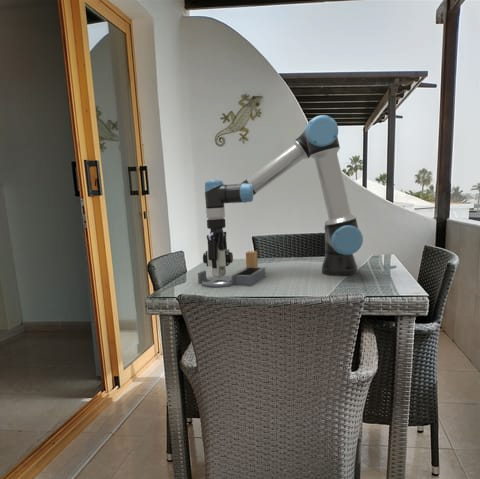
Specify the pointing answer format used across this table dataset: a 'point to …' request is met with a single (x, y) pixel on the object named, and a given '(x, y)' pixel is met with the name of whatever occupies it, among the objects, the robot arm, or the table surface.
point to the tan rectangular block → (251, 259)
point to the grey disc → (216, 280)
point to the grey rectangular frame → (249, 276)
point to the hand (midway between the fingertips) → (219, 273)
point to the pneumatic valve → (220, 260)
